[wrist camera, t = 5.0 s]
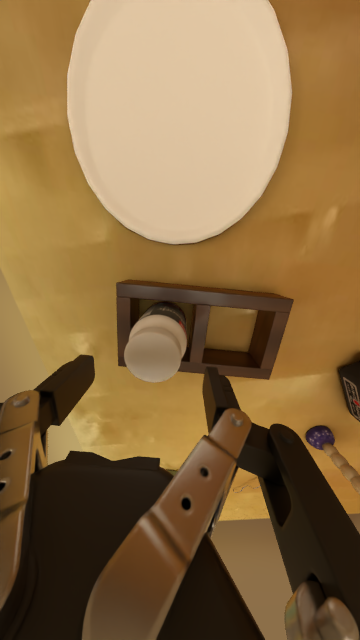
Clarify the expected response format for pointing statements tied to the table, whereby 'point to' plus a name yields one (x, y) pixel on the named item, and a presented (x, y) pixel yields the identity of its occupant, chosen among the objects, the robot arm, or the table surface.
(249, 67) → the plate
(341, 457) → the toy lamp
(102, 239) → the table surface
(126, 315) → the rack
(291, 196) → the table surface
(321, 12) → the table surface
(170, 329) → the pill bottle
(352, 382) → the camera
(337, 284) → the table surface
